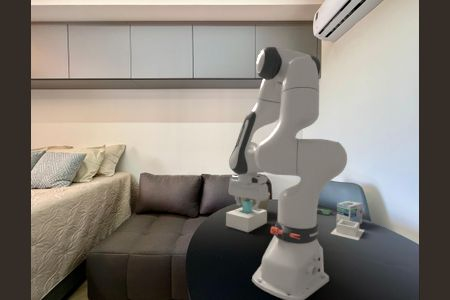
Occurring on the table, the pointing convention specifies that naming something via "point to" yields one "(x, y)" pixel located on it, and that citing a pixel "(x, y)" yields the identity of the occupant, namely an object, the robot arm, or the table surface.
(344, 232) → the holster
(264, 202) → the planter bowl
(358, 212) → the light bulb box
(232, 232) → the table surface
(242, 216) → the white box
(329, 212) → the disk drive
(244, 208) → the plug
